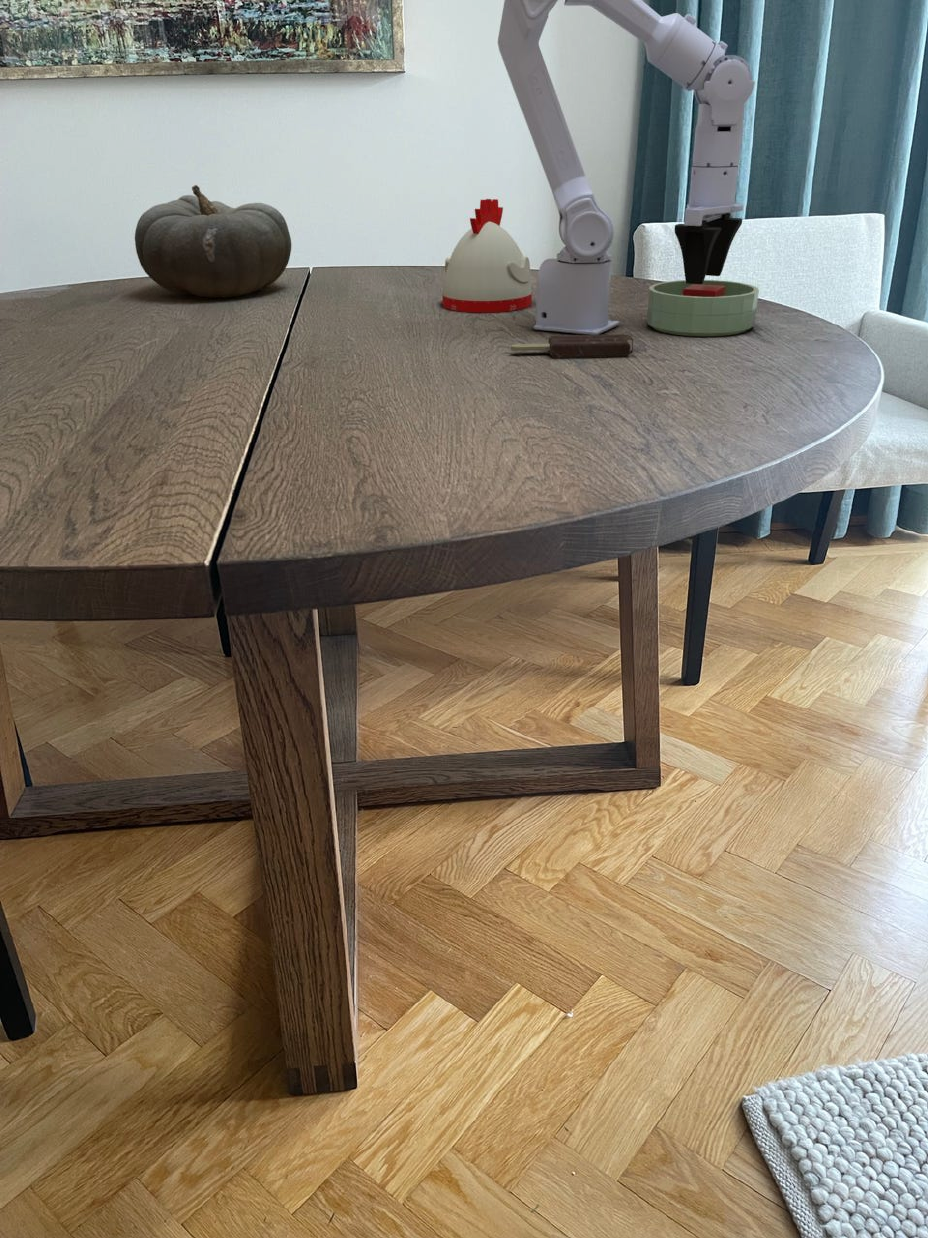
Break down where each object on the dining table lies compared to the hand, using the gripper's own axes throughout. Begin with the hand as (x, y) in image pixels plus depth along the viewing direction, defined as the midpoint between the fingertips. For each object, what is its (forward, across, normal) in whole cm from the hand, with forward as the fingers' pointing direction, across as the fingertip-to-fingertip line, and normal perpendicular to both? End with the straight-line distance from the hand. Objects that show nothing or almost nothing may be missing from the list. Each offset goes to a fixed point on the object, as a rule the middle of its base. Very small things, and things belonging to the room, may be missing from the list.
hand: (703, 279), depth 124 cm
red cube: (+6, 0, 0) cm, 6 cm away
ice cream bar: (+6, -22, +9) cm, 24 cm away
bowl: (+6, 0, 0) cm, 6 cm away
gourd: (+7, -5, +83) cm, 83 cm away
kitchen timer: (+6, +3, +35) cm, 36 cm away
